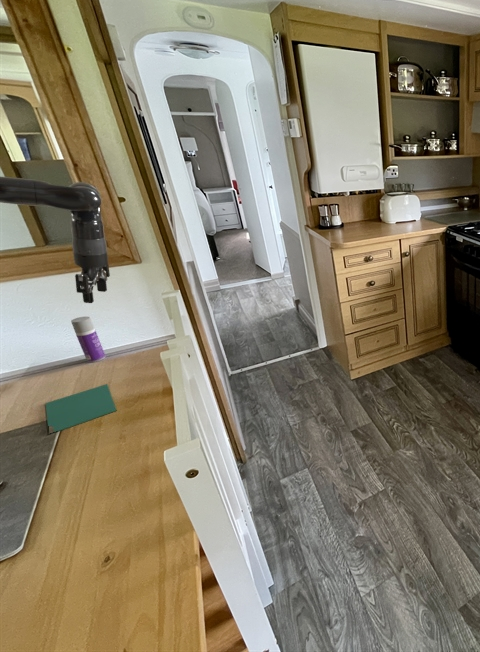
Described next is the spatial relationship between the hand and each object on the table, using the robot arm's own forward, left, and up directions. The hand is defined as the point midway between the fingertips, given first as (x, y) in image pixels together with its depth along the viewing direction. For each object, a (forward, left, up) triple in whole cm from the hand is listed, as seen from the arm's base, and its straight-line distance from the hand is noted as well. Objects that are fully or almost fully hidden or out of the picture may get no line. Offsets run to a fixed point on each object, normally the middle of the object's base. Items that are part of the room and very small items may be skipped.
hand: (95, 296), depth 122 cm
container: (-4, +5, -22) cm, 23 cm away
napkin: (-21, -22, -22) cm, 38 cm away
